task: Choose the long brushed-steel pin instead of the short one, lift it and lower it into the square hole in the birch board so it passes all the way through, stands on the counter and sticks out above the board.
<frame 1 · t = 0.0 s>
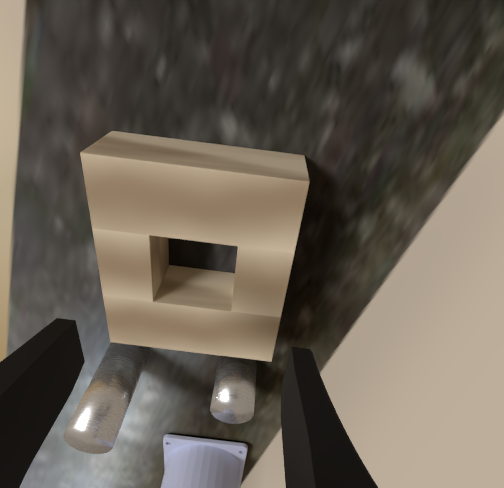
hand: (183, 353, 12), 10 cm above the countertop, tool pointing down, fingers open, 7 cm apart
birch board: (204, 240, 21), on the countertop
long steel pin: (129, 350, 27), on the countertop
short steel pin: (237, 363, 27), on the countertop
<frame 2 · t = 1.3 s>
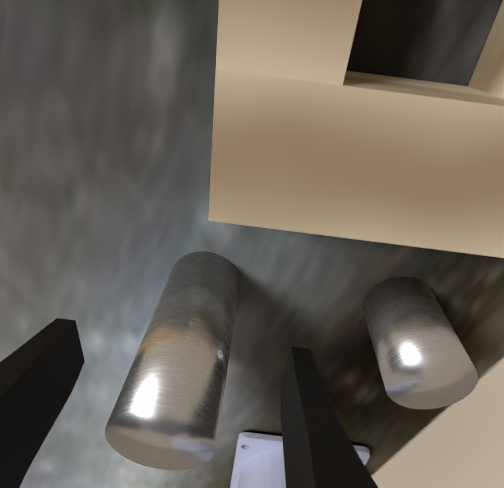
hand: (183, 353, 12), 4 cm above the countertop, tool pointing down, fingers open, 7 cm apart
long steel pin: (205, 280, 15), on the countertop
short steel pin: (397, 304, 15), on the countertop
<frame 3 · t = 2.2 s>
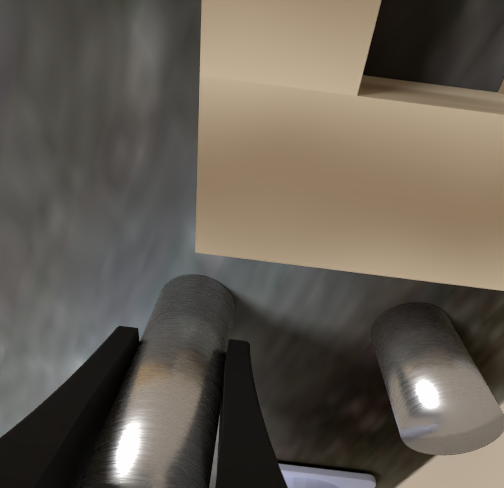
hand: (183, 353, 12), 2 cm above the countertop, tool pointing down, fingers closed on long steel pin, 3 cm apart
long steel pin: (197, 304, 14), on the countertop, touching gripper
short steel pin: (409, 330, 14), on the countertop
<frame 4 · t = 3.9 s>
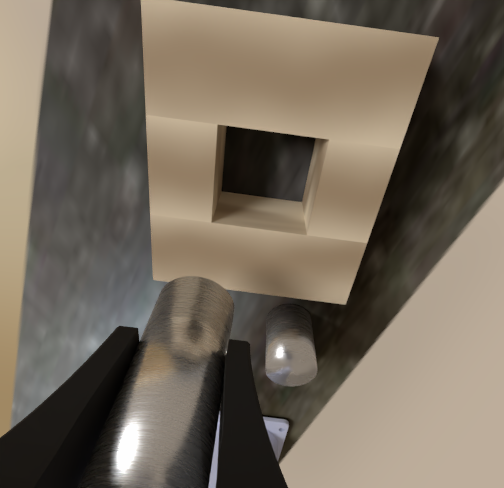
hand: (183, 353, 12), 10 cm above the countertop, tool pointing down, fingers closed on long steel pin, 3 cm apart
birch board: (267, 157, 18), on the countertop
long steel pin: (196, 306, 14), point 7 cm above the countertop, touching gripper
short steel pin: (288, 320, 24), on the countertop
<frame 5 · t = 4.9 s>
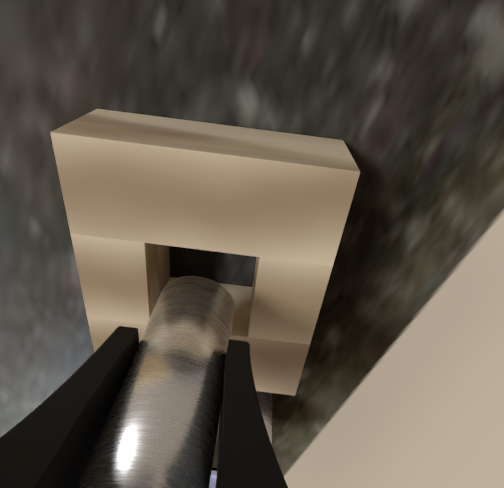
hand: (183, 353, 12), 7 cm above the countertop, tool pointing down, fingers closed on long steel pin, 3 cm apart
birch board: (213, 247, 17), on the countertop
long steel pin: (196, 305, 14), point 4 cm above the countertop, touching gripper
short steel pin: (249, 389, 23), on the countertop
when the fingers open (5 cm above the countertop, at t = 5.6 s): long steel pin drops 2 cm, resting in birch board.
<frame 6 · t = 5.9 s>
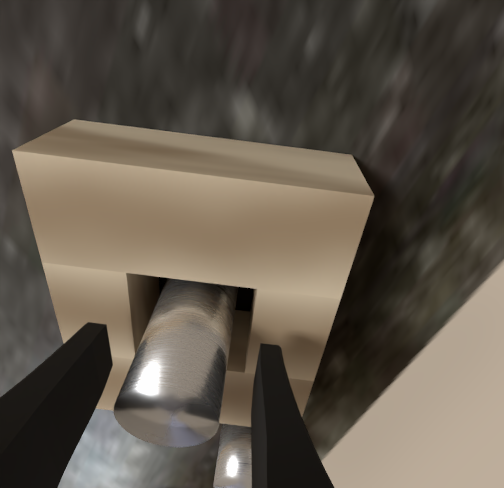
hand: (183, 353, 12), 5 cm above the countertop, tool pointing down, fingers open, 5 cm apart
birch board: (206, 270, 16), on the countertop
long steel pin: (207, 270, 16), resting in birch board
short steel pin: (247, 416, 22), on the countertop
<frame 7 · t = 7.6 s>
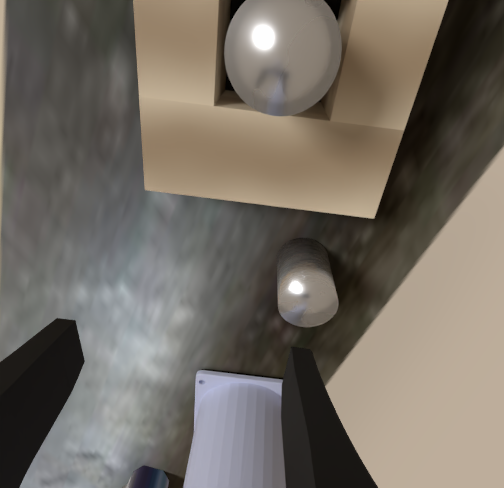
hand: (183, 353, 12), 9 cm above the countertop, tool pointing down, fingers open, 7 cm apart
birch board: (280, 41, 15), on the countertop
long steel pin: (280, 42, 15), resting in birch board
short steel pin: (302, 259, 21), on the countertop
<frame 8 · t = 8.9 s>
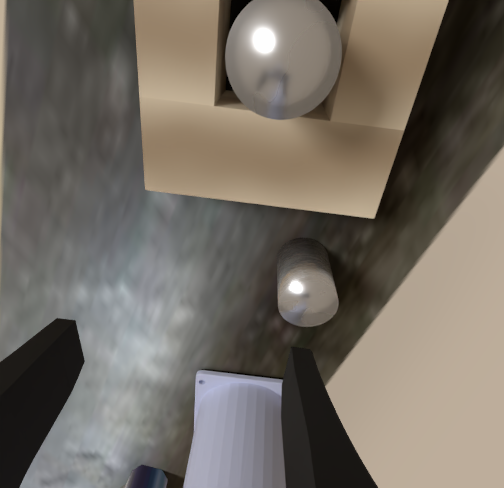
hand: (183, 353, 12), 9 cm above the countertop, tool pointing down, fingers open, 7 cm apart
birch board: (280, 41, 15), on the countertop
long steel pin: (280, 42, 15), resting in birch board
short steel pin: (302, 259, 21), on the countertop
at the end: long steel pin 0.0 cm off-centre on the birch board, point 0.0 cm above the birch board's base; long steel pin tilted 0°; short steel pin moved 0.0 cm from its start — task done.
